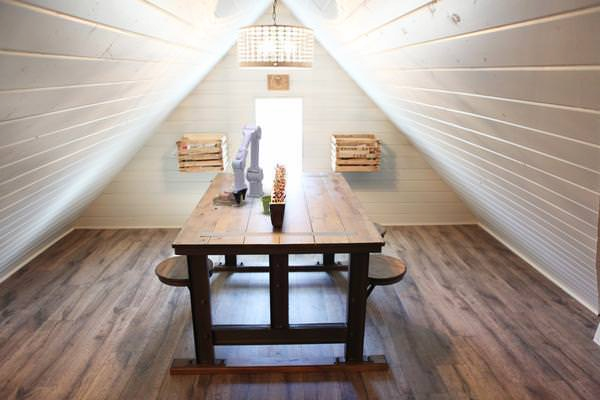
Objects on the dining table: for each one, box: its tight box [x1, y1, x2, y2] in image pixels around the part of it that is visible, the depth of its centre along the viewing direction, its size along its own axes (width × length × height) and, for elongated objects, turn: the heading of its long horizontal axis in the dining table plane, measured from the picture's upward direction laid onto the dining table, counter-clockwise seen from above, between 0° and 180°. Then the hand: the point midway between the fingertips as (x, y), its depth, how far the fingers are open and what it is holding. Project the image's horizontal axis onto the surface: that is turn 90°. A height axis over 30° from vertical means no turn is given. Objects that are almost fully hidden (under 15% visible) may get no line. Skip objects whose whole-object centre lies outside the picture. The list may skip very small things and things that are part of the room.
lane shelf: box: [212, 190, 236, 207], centre depth 272 cm, size 16×11×4 cm
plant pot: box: [260, 194, 271, 215], centre depth 251 cm, size 9×9×9 cm
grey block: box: [226, 189, 235, 198], centre depth 276 cm, size 4×4×6 cm
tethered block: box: [220, 193, 244, 206], centre depth 267 cm, size 4×13×6 cm, turn 74°
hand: (240, 201), depth 266 cm, fingers open, 6 cm apart
